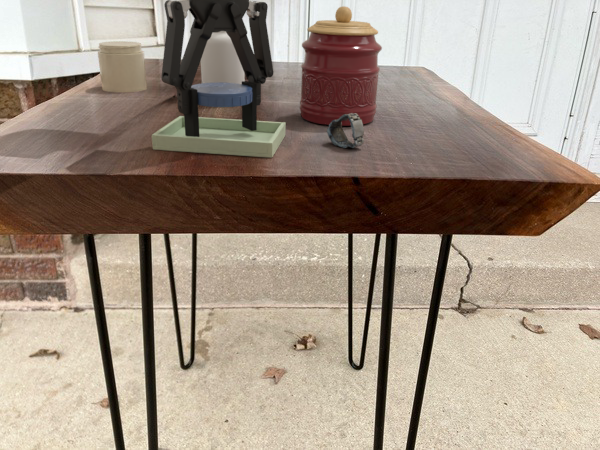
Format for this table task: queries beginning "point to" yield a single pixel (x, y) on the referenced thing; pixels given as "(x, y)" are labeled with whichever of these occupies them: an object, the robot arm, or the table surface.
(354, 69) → the kitchen canister
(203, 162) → the table surface
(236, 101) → the jar lid
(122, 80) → the jar
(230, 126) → the tray
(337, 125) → the wristwatch
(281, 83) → the table surface
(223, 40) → the pill bottle
